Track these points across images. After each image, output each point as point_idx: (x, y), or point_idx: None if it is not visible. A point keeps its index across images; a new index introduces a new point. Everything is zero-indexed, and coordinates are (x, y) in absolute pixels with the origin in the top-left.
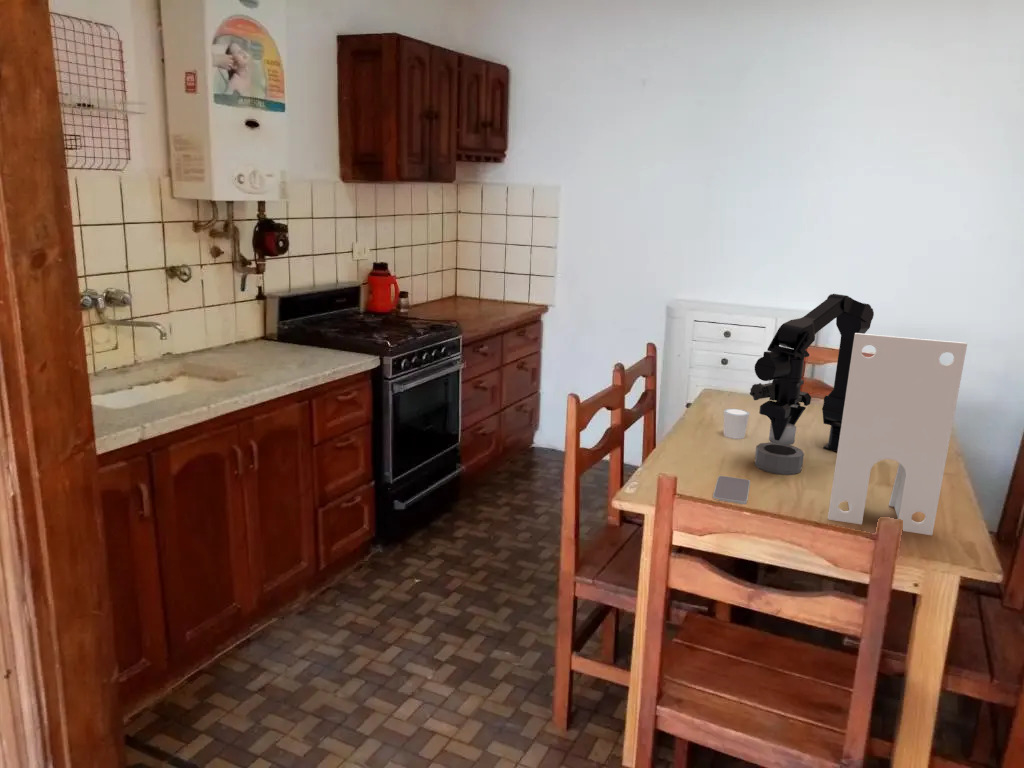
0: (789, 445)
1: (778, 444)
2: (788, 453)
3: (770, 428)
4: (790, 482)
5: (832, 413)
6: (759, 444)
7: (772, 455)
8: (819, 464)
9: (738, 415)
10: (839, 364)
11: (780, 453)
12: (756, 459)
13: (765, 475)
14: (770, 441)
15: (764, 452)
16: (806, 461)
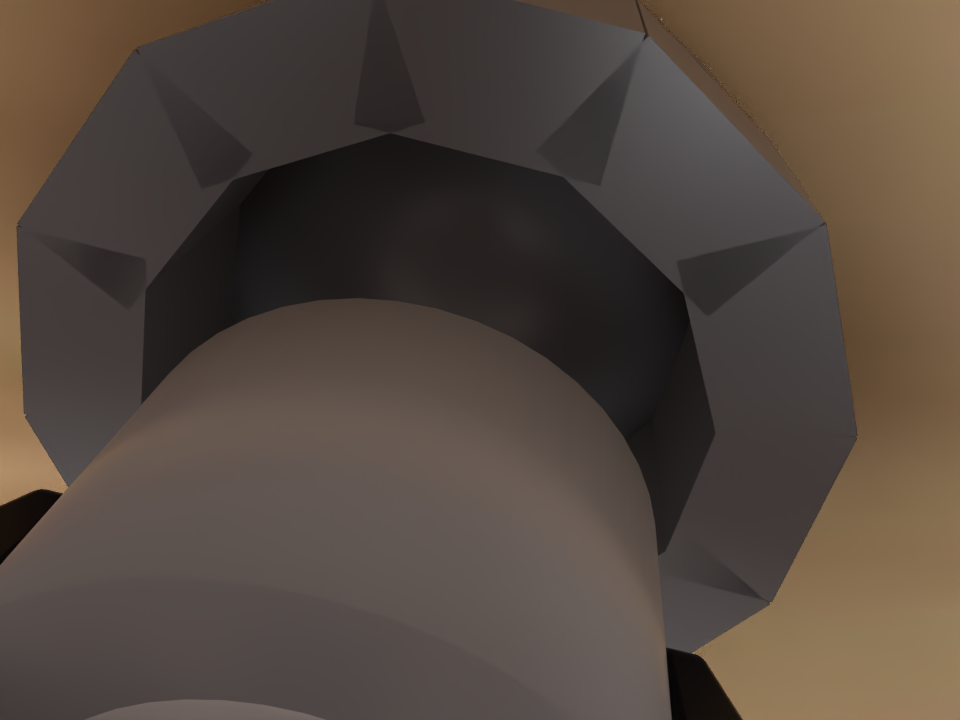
0: (764, 549)
1: (740, 383)
2: (657, 478)
3: (124, 496)
4: (21, 455)
5: None
6: (535, 20)
7: (26, 340)
8: (815, 689)
9: None
10: None
11: (696, 356)
12: (243, 9)
13: (27, 182)
14: (199, 347)
15: (66, 197)
16: (874, 579)
